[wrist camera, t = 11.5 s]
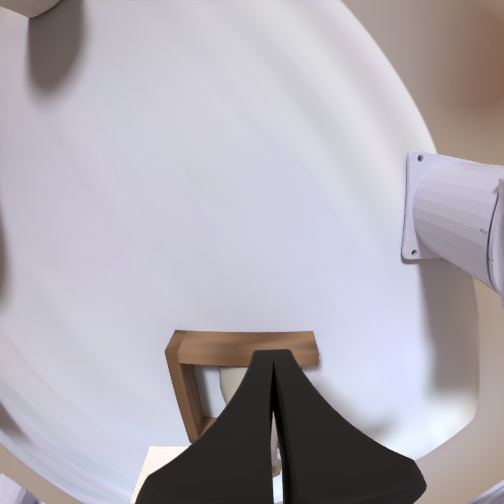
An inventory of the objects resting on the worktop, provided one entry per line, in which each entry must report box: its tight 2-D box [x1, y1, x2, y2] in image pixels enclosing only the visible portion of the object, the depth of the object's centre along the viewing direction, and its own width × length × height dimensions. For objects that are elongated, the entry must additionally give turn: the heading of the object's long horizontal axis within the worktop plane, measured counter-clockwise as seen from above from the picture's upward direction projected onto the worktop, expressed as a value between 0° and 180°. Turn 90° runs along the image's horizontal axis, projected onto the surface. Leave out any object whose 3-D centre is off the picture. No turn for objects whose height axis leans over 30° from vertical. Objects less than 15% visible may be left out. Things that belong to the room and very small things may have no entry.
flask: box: [219, 365, 301, 478], centre depth 18 cm, size 7×7×10 cm
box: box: [165, 330, 319, 447], centre depth 22 cm, size 11×12×3 cm
